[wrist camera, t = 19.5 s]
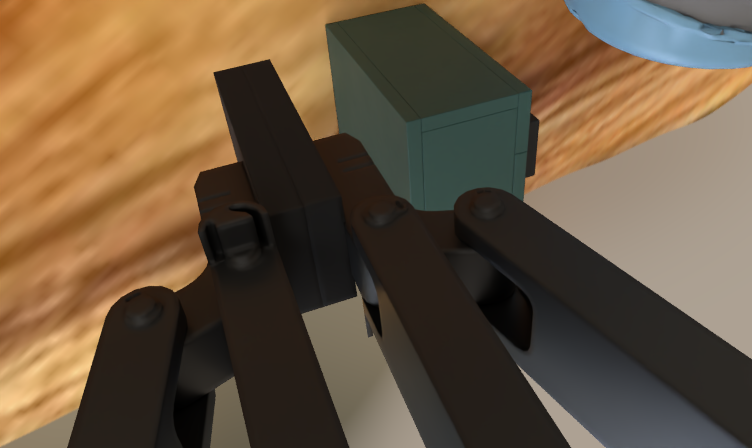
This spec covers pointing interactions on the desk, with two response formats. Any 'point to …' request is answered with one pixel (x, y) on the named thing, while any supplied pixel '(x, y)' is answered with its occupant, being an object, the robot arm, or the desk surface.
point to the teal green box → (429, 106)
